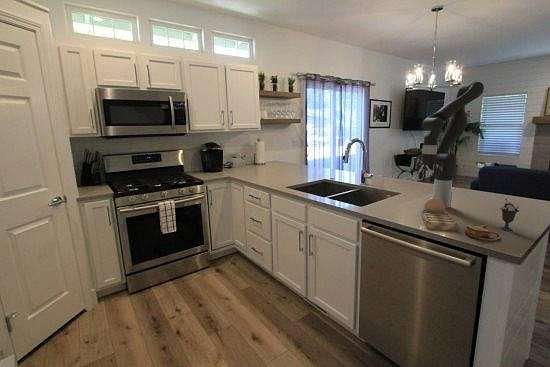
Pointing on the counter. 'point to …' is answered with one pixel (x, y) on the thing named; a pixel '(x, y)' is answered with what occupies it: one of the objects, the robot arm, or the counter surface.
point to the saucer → (434, 205)
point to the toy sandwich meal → (481, 233)
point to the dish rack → (439, 221)
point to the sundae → (508, 215)
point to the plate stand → (432, 212)
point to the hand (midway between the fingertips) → (425, 180)
